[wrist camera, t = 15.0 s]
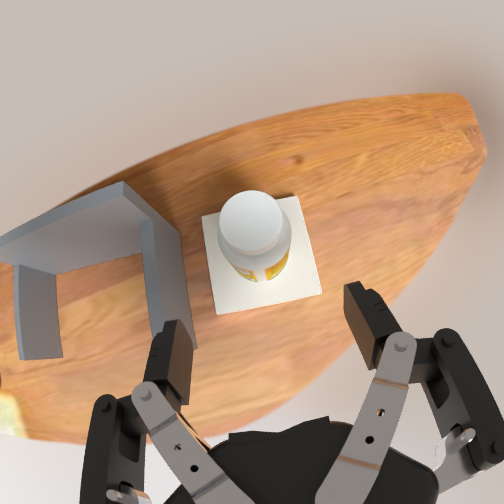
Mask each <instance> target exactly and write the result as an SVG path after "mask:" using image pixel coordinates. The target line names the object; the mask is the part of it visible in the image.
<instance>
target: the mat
mask: <svg viewBox="0 0 504 504" xmlns="http://www.w3.org/2000/svg"><path fill="white" fill-rule="evenodd" d="M275 201H276V202H277V203H278V205H279V206H280V208H281V209H282V210H283V212H284V213H285V214H286V216H287V217H288V219H289V222H290V225H291V231H292V237H291V244H290V249H289V255H288V260H287V263H286V266H285V267H284V269H283V270H282V272H281V273H280V274H279V275H278V276H276V277H275V278H274V279H272V280H269V281H266V282H252V281H249V280H247V279H245V278H243V277H242V276H241V275H240V274H239V273H238V272H237V271H236V270H235V269H234V268H233V266H232V265H231V264H230V263H229V262H228V261H227V259H226V258H225V257H224V255H223V254H222V252H221V250H220V247H219V244H218V238H217V232H218V226H219V216H220V212H218V213H214V214H209V215H205V216H201V218H202V225H203V233H204V240H205V246H206V253H207V260H208V266H209V272H210V279H211V285H212V291H213V296H214V302H215V308H216V314H217V315H221V314H226V313H232V312H237V311H242V310H248V309H253V308H258V307H263V306H268V305H273V304H277V303H282V302H287V301H291V300H296V299H300V298H305V297H309V296H314V295H318V294H321V293H322V290H321V286H320V281H319V277H318V273H317V269H316V264H315V260H314V256H313V252H312V248H311V244H310V240H309V236H308V233H307V229H306V225H305V221H304V218H303V214H302V210H301V207H300V203H299V200H298V196H292V197H287V198H282V199H277V200H275Z"/></svg>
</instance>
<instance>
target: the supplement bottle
mask: <svg viewBox="0 0 504 504" xmlns="http://www.w3.org/2000/svg"><path fill="white" fill-rule="evenodd" d="M291 237H292V231H291V225H290V222H289V219H288V217H287V216H286V214H285V213H284V212H283V210H282V209H281V208H280V206H279V205H278V203H277V202H276V201H275V199H274V198H272V197H271V196H270V195H268V194H266V193H264V192H261V191H255V190H248V191H243V192H240V193H238V194H236V195H234V196H233V197H231V198H230V199H229V200H228V201H227V202H226V203H225V204H224V206H223V208H222V210H221V212H220V216H219V226H218V232H217V238H218V244H219V247H220V250H221V252H222V254H223V255H224V257H225V258H226V259H227V261H228V262H229V263H230V264H231V265H232V266H233V268H234V269H235V270H236V271H237V272H238V273H239V274H240V275H241V276H242V277H243V278H245V279H247V280H249V281H252V282H266V281H269V280H272V279H274V278H275V277H276V276H278V275H279V274H280V273H281V272H282V270H283V269H284V267H285V266H286V263H287V260H288V255H289V249H290V244H291Z"/></svg>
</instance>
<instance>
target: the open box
mask: <svg viewBox="0 0 504 504" xmlns="http://www.w3.org/2000/svg"><path fill="white" fill-rule="evenodd" d="M139 253H142V255H143V267H144V278H145V287H146V295H147V303H148V311H149V318H150V325H151V331H152V337H153V339H154V337H155V336H156V334H157V333H158V332H162V330H163V326H164V322H165V321H169V320H176V319H180V320H181V321H182V323H183V324H184V326H185V328H186V330H187V332H188V334H189V336H190V337H191V340H192V343H193V350H195V349H197V344H196V338H195V333H194V327H193V322H192V316H191V310H190V304H189V297H188V291H187V284H186V277H185V270H184V262H183V254H182V246H181V237H180V232H179V231H178V230H176V229H175V228H174V227H173V226H172V225H171V224H170V223H169V222H168V221H166V220H165V219H164V218H163V217H162V216H161V215H160V214H159V213H158V212H157V211H156V210H154V209H153V208H152V207H151V206H150V205H149V204H148V203H147V202H146V201H145V200H144V199H143V198H141V197H140V196H139V195H138V194H137V193H136V192H135V191H134V190H133V189H132V188H131V187H130V186H129V185H128V184H127V183H125V182H124V181H121V182H118V183H115V184H112V185H110V186H107V187H105V188H102V189H99V190H97V191H94V192H92V193H89V194H87V195H85V196H82V197H80V198H77V199H75V200H73V201H70V202H68V203H66V204H64V205H61V206H59V207H57V208H55V209H53V210H51V211H48V212H46V213H44V214H42V215H40V216H38V217H36V218H34V219H32V220H30V221H28V222H26V223H25V224H22V225H21V226H19V227H17V228H15V229H13V230H12V231H9V232H8V233H6V234H4V235H2V236H1V237H0V262H3V263H6V264H10V265H13V266H14V312H15V326H16V336H17V345H18V352H19V359H20V360H39V359H53V358H63V353H62V347H61V340H60V332H59V323H58V312H57V297H56V275H58V274H61V273H65V272H69V271H72V270H76V269H80V268H84V267H87V266H91V265H95V264H99V263H103V262H107V261H111V260H115V259H119V258H123V257H127V256H131V255H135V254H139Z"/></svg>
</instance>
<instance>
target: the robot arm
mask: <svg viewBox="0 0 504 504" xmlns="http://www.w3.org/2000/svg"><path fill="white" fill-rule="evenodd" d="M344 314H345V318H346V320H347V322H348V325H349V327H350V329H351V331H352V333H353V336H354V338H355V340H356V342H357V344H358V347H359V349H360V351H361V354H362V356H363V358H364V360H365V363H366V365H367V367H368V370H372V369H375V368H376V370H377V371H376V374H375V377H374V379H373V381H372V383H371V385H370V388H369V391H368V393H367V396H366V398H365V401H364V403H363V405H362V408H361V410H360V412H359V415H358V417H357V419H356V421H355V424H354V425H351V424H348V423H345V422H338V421H330V420H329V416H326V417H322V418H318V419H314V420H310V421H305V422H303V423H300V424H298V425H296V426H293V427H291V428H289V429H286V430H284V431H282V432H277V433H276V432H260V431H247V432H238V433H229V439H228V440H225V441H223V442H221V443H219V444H218V445H216V446H214V447H213V448H211V447H210V445H208V443H207V442H206V441H205V440H204V439H203V438H202V437H201V436H200V435H199V434H198V433H197V431H196V430H195V429H194V428H193V427H192V425H191V424H190V423H189V422H188V420H187V419H186V418H185V417H184V415H183V414H182V413H181V412H180V411H181V405H189V395H190V383H191V371H192V361H193V343H192V340H191V337H190V336H189V334H188V332H187V330H186V328H185V326H184V324H183V323H182V321H181V320H180V319H176V320H169V321H165V322H164V326H163V330H162V332H158V333H157V334H156V336H155V337H154V339H153V340H152V344H151V348H150V350H151V351H150V352H149V357H148V361H147V365H146V369H145V374H144V378H143V382H142V383H140V384H138V385H137V386H136V387H135V388H134V390H133V391H132V394H131V395H129V396H126V397H122V398H119V399H116V398H115V397H114V396H112V395H110V394H105V395H102V396H101V397H99V398H98V399H97V400H96V402H95V404H94V407H93V412H92V417H91V422H90V427H89V432H88V437H87V443H86V449H85V456H84V463H83V471H82V479H81V489H80V502H79V503H80V504H152V503H151V499H150V498H149V496H148V495H147V494H146V493H144V467H145V447H146V434H147V433H148V435H149V437H150V439H151V441H152V442H153V444H154V445H155V447H156V448H157V450H158V451H159V453H160V454H161V455H162V457H163V459H164V460H165V461H166V463H167V464H168V466H169V467H170V469H171V470H172V471H173V473H174V474H175V475H176V477H177V478H178V479H179V480H180V482H181V483H182V484H181V485H180V486H179V487H178V488H177V489H176V490H175V491H174V493H173V494H172V495H171V496H170V497H169V498H168V499H167V500H166V502H164V504H436V501H437V497H438V494H440V493H442V492H444V491H446V490H448V489H449V488H452V487H454V486H455V485H457V484H459V483H461V482H462V481H464V480H467V479H469V478H472V477H474V476H476V475H478V474H480V473H482V472H483V471H486V470H487V469H489V468H491V467H493V466H495V465H496V464H498V463H500V462H502V461H503V460H504V420H503V417H502V415H501V413H500V411H499V408H498V406H497V404H496V402H495V400H494V398H493V395H492V393H491V391H490V389H489V387H488V385H487V383H486V381H485V379H484V377H483V375H482V374H481V372H480V370H479V368H478V367H477V364H476V363H475V361H474V359H473V357H472V356H471V354H470V352H469V351H468V349H467V347H466V345H465V344H464V342H463V341H462V339H461V337H460V336H459V334H458V333H457V332H456V331H454V330H452V329H449V328H444V329H440V330H439V331H437V332H436V334H435V335H434V338H423V339H417V338H414V337H413V336H412V335H411V334H409V333H406V332H403V331H402V329H401V328H400V326H399V324H398V323H397V321H396V319H395V318H394V316H393V314H392V313H391V311H390V310H389V309H388V307H387V305H386V303H384V300H383V299H382V297H381V296H380V294H379V293H377V292H376V291H374V290H373V289H367V290H365V289H364V287H363V285H362V284H361V282H360V281H356V282H352V283H349V284H345V285H344ZM411 383H421V385H422V387H423V390H424V392H425V394H426V397H427V399H428V402H429V404H430V407H431V409H432V412H433V415H434V417H435V420H436V423H437V425H438V428H439V431H440V434H441V437H442V440H441V441H440V442H439V443H438V445H437V447H436V453H435V454H436V463H435V466H434V468H433V469H432V470H431V469H430V468H429V467H427V466H425V465H423V464H421V463H420V462H418V461H416V460H414V459H412V458H410V457H408V456H406V455H404V454H403V453H401V452H399V451H397V450H395V449H393V448H392V447H390V443H391V440H392V438H393V435H394V432H395V430H396V427H397V424H398V421H399V418H400V415H401V412H402V409H403V406H404V402H405V399H406V396H407V392H408V384H411Z"/></svg>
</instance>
